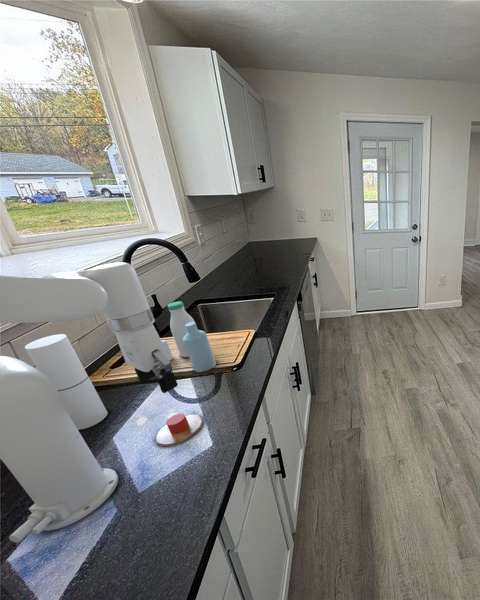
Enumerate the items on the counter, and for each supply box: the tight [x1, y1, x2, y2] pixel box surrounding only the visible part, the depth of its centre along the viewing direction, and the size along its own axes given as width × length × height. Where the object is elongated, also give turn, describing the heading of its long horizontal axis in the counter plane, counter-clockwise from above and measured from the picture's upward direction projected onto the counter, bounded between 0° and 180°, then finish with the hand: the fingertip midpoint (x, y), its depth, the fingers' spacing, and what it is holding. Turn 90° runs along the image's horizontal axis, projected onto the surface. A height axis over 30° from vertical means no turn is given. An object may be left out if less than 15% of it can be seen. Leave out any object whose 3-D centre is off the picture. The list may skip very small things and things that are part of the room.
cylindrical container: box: [24, 333, 109, 431], centre depth 82 cm, size 7×7×25 cm
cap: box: [165, 413, 189, 434], centre depth 80 cm, size 4×4×3 cm
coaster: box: [155, 414, 203, 447], centre depth 81 cm, size 10×10×1 cm
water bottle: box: [183, 322, 217, 373], centre depth 105 cm, size 7×7×16 cm
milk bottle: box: [167, 301, 196, 358], centre depth 114 cm, size 8×8×20 cm
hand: (159, 383), depth 75 cm, fingers open, 9 cm apart
